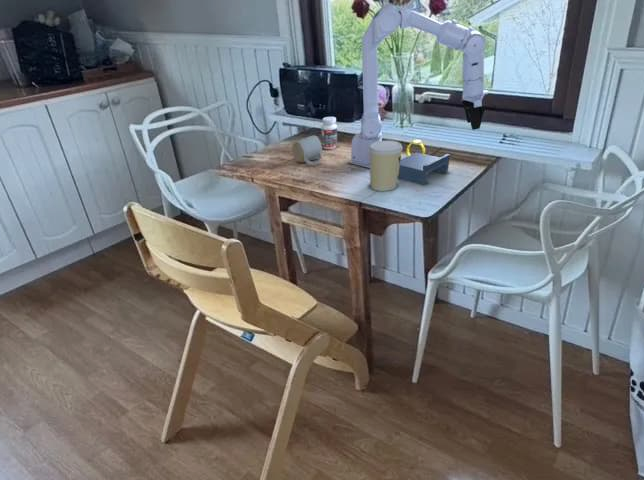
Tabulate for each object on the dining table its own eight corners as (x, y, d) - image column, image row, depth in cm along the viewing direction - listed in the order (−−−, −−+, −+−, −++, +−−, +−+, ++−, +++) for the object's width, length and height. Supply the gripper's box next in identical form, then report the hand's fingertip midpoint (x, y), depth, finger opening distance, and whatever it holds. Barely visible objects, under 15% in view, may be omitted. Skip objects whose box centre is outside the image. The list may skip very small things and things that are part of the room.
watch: (404, 159, 171) (406, 141, 168) (408, 156, 173) (410, 138, 169) (421, 162, 168) (423, 143, 164) (425, 159, 169) (427, 140, 166)
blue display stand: (391, 175, 161) (392, 158, 158) (415, 164, 167) (416, 147, 163) (424, 184, 153) (426, 166, 150) (447, 172, 159) (450, 154, 156)
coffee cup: (405, 187, 153) (408, 146, 145) (376, 194, 151) (378, 152, 144) (390, 177, 160) (392, 138, 152) (362, 183, 158) (363, 143, 151)
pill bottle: (326, 150, 186) (325, 121, 180) (318, 146, 190) (318, 118, 184) (340, 147, 187) (340, 118, 181) (332, 143, 191) (332, 115, 185)
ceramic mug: (291, 160, 181) (290, 138, 176) (311, 154, 183) (310, 132, 178) (307, 168, 173) (307, 145, 168) (327, 163, 176) (327, 140, 171)
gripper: (493, 80, 145) (492, 129, 153) (482, 69, 156) (482, 116, 164) (466, 86, 147) (467, 134, 155) (458, 75, 158) (459, 121, 166)
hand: (473, 125), depth 159 cm, fingers open, 7 cm apart
